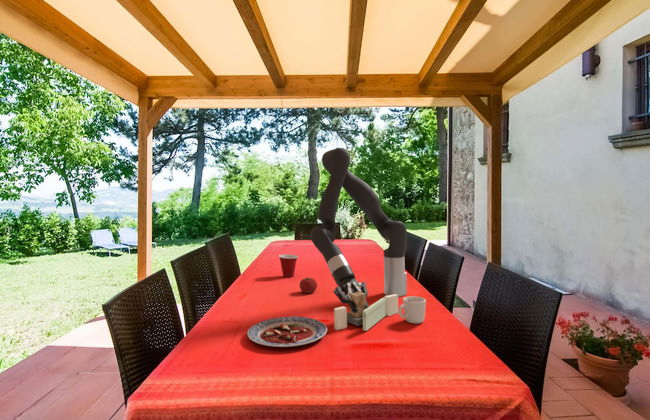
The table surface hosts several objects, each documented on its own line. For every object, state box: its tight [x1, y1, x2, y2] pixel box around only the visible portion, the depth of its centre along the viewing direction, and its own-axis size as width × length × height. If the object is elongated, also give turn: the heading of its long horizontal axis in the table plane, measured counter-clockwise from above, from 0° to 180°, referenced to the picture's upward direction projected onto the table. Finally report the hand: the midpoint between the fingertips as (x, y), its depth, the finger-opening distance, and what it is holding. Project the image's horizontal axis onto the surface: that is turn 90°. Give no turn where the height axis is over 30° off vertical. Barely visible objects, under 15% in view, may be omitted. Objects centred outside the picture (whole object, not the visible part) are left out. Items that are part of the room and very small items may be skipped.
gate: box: [362, 297, 387, 332], centre depth 130 cm, size 18×1×6 cm, turn 149°
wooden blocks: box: [333, 294, 399, 331], centre depth 134 cm, size 29×2×7 cm, turn 125°
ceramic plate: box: [247, 316, 328, 348], centre depth 121 cm, size 26×26×3 cm
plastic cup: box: [278, 253, 299, 279], centre depth 208 cm, size 11×11×12 cm
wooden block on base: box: [347, 291, 367, 327], centre depth 132 cm, size 8×8×10 cm
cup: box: [398, 295, 427, 324], centre depth 131 cm, size 11×8×8 cm
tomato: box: [299, 277, 318, 295], centre depth 174 cm, size 8×8×7 cm
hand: (361, 310), depth 130 cm, fingers closed on wooden block on base, 4 cm apart
